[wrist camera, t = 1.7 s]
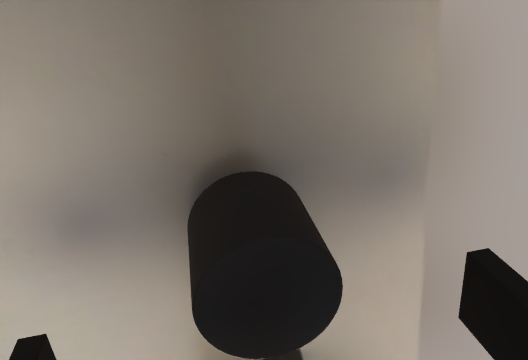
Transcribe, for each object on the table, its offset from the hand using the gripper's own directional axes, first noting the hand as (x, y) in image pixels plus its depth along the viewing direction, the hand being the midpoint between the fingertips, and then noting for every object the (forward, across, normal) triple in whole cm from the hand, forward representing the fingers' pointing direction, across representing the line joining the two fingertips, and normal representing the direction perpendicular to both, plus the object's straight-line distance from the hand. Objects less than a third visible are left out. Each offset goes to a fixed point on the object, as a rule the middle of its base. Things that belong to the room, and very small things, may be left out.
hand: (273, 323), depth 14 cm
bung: (+8, 0, 0) cm, 8 cm away
